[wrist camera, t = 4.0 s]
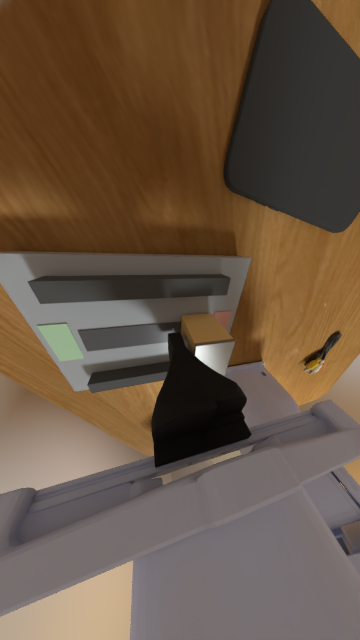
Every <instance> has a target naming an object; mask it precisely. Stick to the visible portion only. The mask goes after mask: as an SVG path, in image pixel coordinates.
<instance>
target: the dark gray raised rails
mask: <svg viewBox="0 0 360 640" xmlns="http://www.w3.org/2000/svg"><path fill="white" fill-rule="evenodd" d="M230 280H231V278H230V277H228V276H225V275H223V274H186V275H93V276H42V277H39V278H36V279H33V280H30V281H27V282H28V284H29V286H30V287H31V289H32V291H33V292H34V294H35V296H36V298H37V299H38V301H39V303H40V304H53V303H74V302H95V301H115V300H136V299H157V298H178V297H199V296H220V295H227V293H228V288H229V284H230ZM169 366H170V361H168V362H161V363H154V364H148V365H141V366H134V367H127V368H121V369H114V370H107V371H101V372H94V373H92V374H91V377H90V379H89V382H88V384H87V386H88V387H89V389H90V391H91V393H95V392H100V391H106V390H111V389H117V388H123V387H128V386H134V385H140V384H145V383H151V382H157V381H162V380H165V378H166V375H167V372H168V369H169Z"/></svg>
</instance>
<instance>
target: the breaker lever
mask: <svg viewBox="0 0 360 640" xmlns="http://www.w3.org/2000/svg"><path fill="white" fill-rule="evenodd" d="M181 335H182V337H183V340H184V343H185V346H186V347H187V349H188V350H189V351H190V352H191V353H192V354H194V355H195V356H196V357H197V358H198V359H199V360H200V361H202V362H203V363H204V364H206V365H207V366H209V367H210V368H211V369H213V370H214V371H216V372H218V373H219V374H221V375H223V376H224V375H225V372H226V369H227V366H228V363H229V360H230V357H231V354H232V351H233V348H234V345H235V342H236V341H235V340H234V339H233V337H232V336H231V335H230V334H229V333H228V332H227V331H226V330H225V328H224V327H223V326H222V325H221V324H220V323H219V322H218V321H217V319H216V318H215V317H214V316H213V315H212V314H211V313H207V314H194V315H182V319H181Z"/></svg>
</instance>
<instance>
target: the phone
mask: <svg viewBox="0 0 360 640" xmlns="http://www.w3.org/2000/svg"><path fill="white" fill-rule="evenodd" d="M224 180H225V184H226V186H227V187H228V188H229V189H230V190H231V191H232V192H234V193H236V194H239V195H241V196H244V197H246V198H248V199H251V200H254V201H256V203H259V204H261V205H264V206H268V207H269V208H271V209H273V210H276V211H280V212H283V213H285V214H288V215H290V216H293V217H295V218H298V219H300V220H302V221H305V222H307V223H310V224H312V225H315V226H317V227H320V228H322V229H324V230H327V231H329V232H332V233H338V232H342V231H344V230H345V229H346V228H348V227H349V226H350V224H351V223H352V222H353V220H354V219H355V218H356V216H357V215H358V213H359V212H360V58H359V57H358V56H357V55H356V54H355V52H354V51H353V50H352V49H351V48H350V46H349V45H348V44H347V43H346V42H345V41H344V39H343V38H342V37H341V36H340V35H339V33H338V32H337V31H336V30H335V29H334V27H333V26H332V25H331V24H330V23H329V21H328V20H327V19H326V18H325V17H324V15H323V14H322V13H321V12H320V11H319V9H318V8H317V7H316V6H315V5H314V3H313V2H312V1H311V0H271V1H270V3H269V5H268V7H267V9H266V11H265V13H264V15H263V18H262V20H261V23H260V26H259V30H258V33H257V37H256V41H255V45H254V49H253V53H252V57H251V61H250V65H249V69H248V73H247V77H246V81H245V85H244V89H243V93H242V97H241V101H240V105H239V109H238V113H237V117H236V121H235V125H234V129H233V133H232V137H231V141H230V145H229V149H228V153H227V157H226V161H225V166H224Z"/></svg>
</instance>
